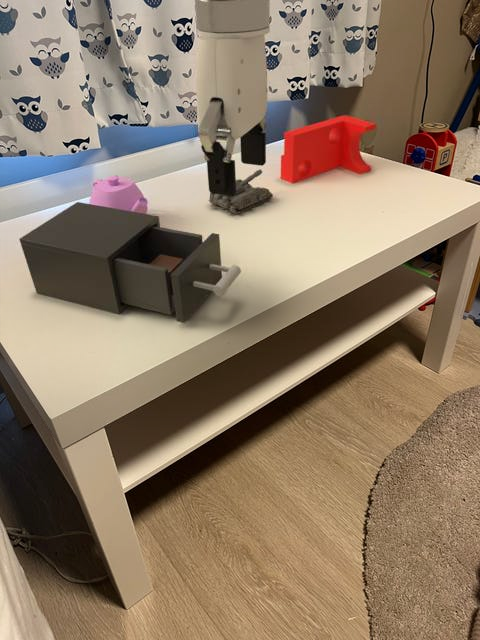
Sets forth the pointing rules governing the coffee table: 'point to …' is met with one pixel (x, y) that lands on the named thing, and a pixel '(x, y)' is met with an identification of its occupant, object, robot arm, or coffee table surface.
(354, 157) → the bracket
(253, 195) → the tank toy
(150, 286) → the pulled-out drawer
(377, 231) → the coffee table surface
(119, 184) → the teapot
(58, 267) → the small drawer cabinet
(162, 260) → the block
